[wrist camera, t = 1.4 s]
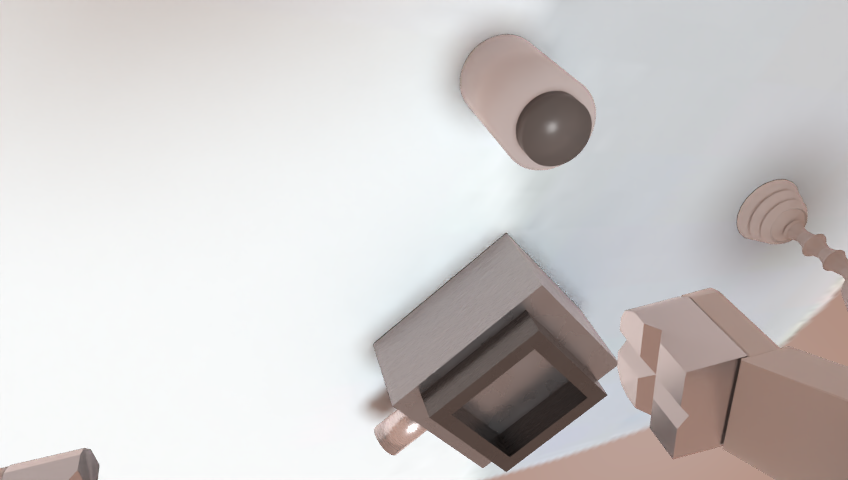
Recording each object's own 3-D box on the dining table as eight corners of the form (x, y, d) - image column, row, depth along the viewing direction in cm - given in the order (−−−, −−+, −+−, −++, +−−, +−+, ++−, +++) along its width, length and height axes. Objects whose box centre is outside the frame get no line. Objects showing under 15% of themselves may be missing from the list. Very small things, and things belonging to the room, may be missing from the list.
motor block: (506, 232, 48) (555, 305, 41) (580, 309, 53) (634, 384, 47) (330, 379, 51) (351, 468, 44) (418, 438, 56) (448, 524, 50)
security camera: (510, 15, 40) (572, 62, 33) (556, 77, 43) (622, 132, 36) (442, 76, 41) (490, 134, 34) (492, 134, 44) (544, 196, 37)
